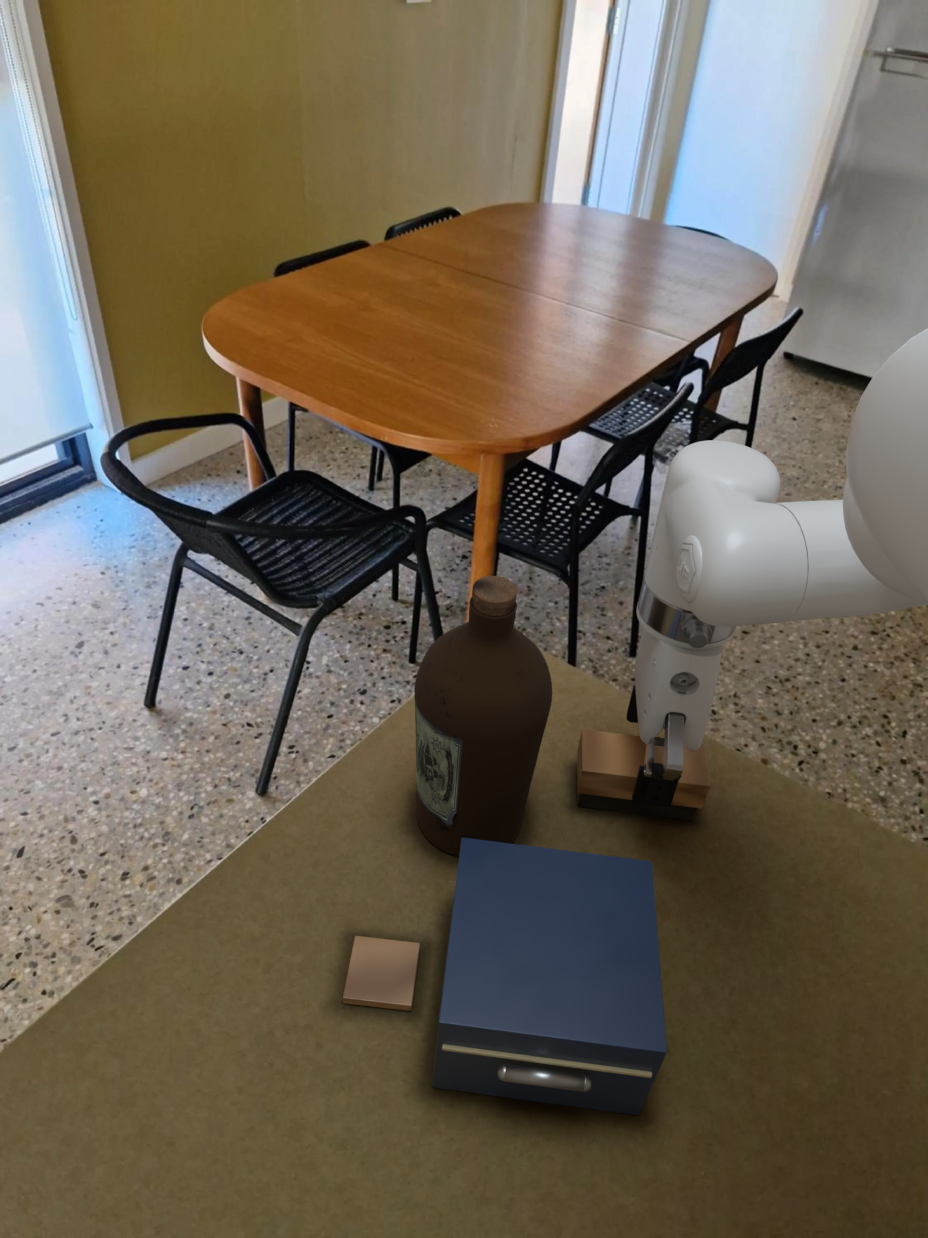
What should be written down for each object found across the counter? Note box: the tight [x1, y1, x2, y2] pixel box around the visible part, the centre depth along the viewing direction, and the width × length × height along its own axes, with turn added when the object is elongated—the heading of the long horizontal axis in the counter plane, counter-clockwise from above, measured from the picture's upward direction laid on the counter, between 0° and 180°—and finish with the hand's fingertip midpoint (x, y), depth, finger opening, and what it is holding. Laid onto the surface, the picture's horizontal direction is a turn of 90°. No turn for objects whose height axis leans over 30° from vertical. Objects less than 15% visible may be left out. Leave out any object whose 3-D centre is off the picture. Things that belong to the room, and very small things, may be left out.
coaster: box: [342, 935, 421, 1012], centre depth 66 cm, size 5×5×1 cm
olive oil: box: [414, 575, 553, 857], centre depth 70 cm, size 11×11×25 cm
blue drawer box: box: [431, 838, 668, 1116], centre depth 62 cm, size 15×14×9 cm
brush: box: [576, 728, 711, 821], centre depth 80 cm, size 11×5×5 cm, turn 84°
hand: (646, 760), depth 77 cm, fingers open, 9 cm apart
